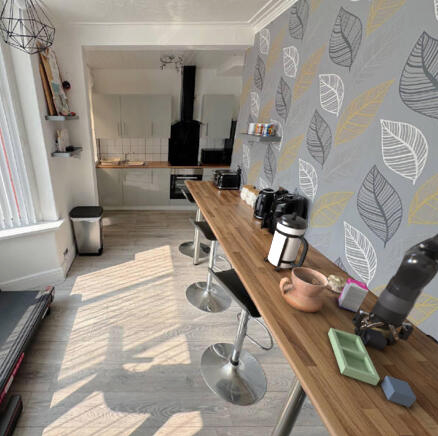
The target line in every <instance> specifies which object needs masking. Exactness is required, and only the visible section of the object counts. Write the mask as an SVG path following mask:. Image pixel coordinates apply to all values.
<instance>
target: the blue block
mask: <svg viewBox="0 0 438 436" xmlns="http://www.w3.org/2000/svg"><path fill="white" fill-rule="evenodd" d="M380 386H381V388H382V390H383V392H384V395H385V397H386V398H387V400H388V401H390V402H393V403H396V404H398V405H401V406H405V407H407V408H411V407H412V405H413V404H414V403H415V402H416V400H417V396H416V395H415V393H414V391H413V390H412V388H411V385H409V383H408V382H407V381H405V380H402V379H400V378H399V379H398V378H395V377H392V376H389V375H386V376H385V377H384V378H383V380H382V381H381V383H380Z"/></svg>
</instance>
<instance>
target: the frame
mask: <svg viewBox="0 0 438 436" xmlns="http://www.w3.org/2000/svg"><path fill="white" fill-rule="evenodd" d="M327 335H328V338H329V341H330V344H331V346H332V349H333V352H334V356H335V359H336V362H337V364H338V367H339V371H340V374H341V375H344V376H347V377H349V378H352V379H355V380H358V381H361V382H363V383H367V384H370V385H373V386H377V385H378V383H379V381H380V380H381V378H380V376H379V374H378V371H377V370H376V367H375V365H374V363H373V361H372V359H371V357H370V355H369V352H368V351H367V348H366V345H365V343H364V341H363V339H362V337H360V336H357V335H356V334H355V333H354V334H353V333H350V332H347V331H344V330H340V329H337V328H334V327H330V329H329V330H328V333H327Z"/></svg>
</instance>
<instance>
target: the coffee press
mask: <svg viewBox="0 0 438 436" xmlns="http://www.w3.org/2000/svg"><path fill="white" fill-rule="evenodd" d="M308 227H309V225H308V222H307V220H305V219H304V218H303V217H301V216H299V214H298V213H297V212H296V211H295V212H293V213H292V214H283V215H280V216H279V217H278V219H277V224H276V226H275V229H274V233H273V235H272V236H273V237H272V240H271V243H270V247H269V250H268V252H267V253H268V254H267V256H265V257H264V258H263V260H264V261H266V262H268V261H269V263H270V264H272V265H273V266H275V267H276V268H275V271H276V272H279V271H280V268H281V269H291V271H292V270H293V269H294V268H297V267H303V265H304V263H305V261H306V258H307V255H308V251H309V242H308V240H307V239H306V238H305V234H306V230H307V229H308ZM302 245H303V248H302V252H301V254H300V257H299V260H298V263H297V264H296V263H295V262H296V260H297V258H298V255H299V251H300V249H301V247H302Z"/></svg>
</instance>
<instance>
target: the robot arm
mask: <svg viewBox="0 0 438 436" xmlns="http://www.w3.org/2000/svg"><path fill="white" fill-rule="evenodd" d="M437 275H438V232H437V233H436V234H435V235H433V236H431V237H429V238H426V239H424V240H422V241H420V242H417V243H416V244H414V245H413V246H411V247H409V248H407V250H406V251H405V252H404V253H403V256H402V260H401V263H400V265H399V267H398V268H397V270H396V272H395V274H394V275H392V276H391V278H390V279H389V280H388V283H387V284H386V286H385V287H384V289H382V291H381V292H380V294H379V296H378V298H377V299H376V301H375V302H374V305H373V306H372V309H371V311H370V312H366V311H364V310H363V309H362V308H359V309H358V311H357V312H356V313H355V314H354V316H353V317H352V319H351V322H352V324H353V326H354V327H355V328H354V330H353V333H354V335H357V336H360V338H362V337H361V335H362V333H363V331H364V329H367V328H369V329H371V328H374V327H375V328H378V329H383V330H385V331H387V330H390V332H391V334H389V335H388V337H387V338H386V341H387V344H386V345H385V346H387V347H389V348H391V347H393V346H394V345H395V344H396V343H397V341H399V340H402V341H403V342H406V341H408V340H409V338H410V336H411V335H412V333H413V331H414V329H415V328H414V326H413V325H412V324H411V323H410V321H406V320H407V318H408V317H409V315H410V314H411V312H412V310H413V309H414V307H415V306H416V303H417V300H418V299H419V298H420V296H421V294H422V293H423V292H424V289H425V288H426V287H427V286H428V285H429V284H430V283H431V282H432V281H433V280H434V278H435V277H436V276H437ZM398 328H400V330H399V332H397V329H398ZM395 329H396V330H395Z"/></svg>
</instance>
